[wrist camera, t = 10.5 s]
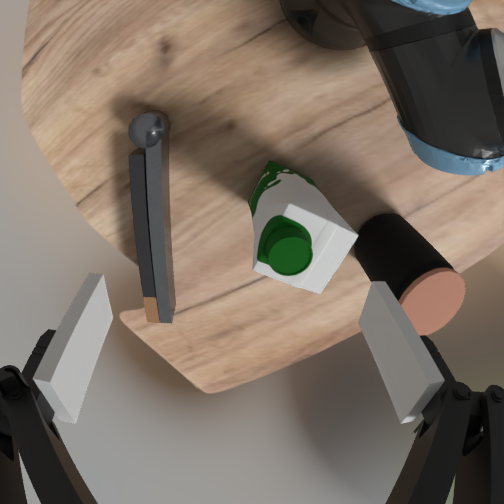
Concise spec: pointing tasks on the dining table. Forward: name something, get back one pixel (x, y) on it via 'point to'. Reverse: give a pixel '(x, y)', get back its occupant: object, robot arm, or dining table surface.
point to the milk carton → (296, 230)
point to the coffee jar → (410, 271)
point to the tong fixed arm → (158, 203)
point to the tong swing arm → (143, 231)
